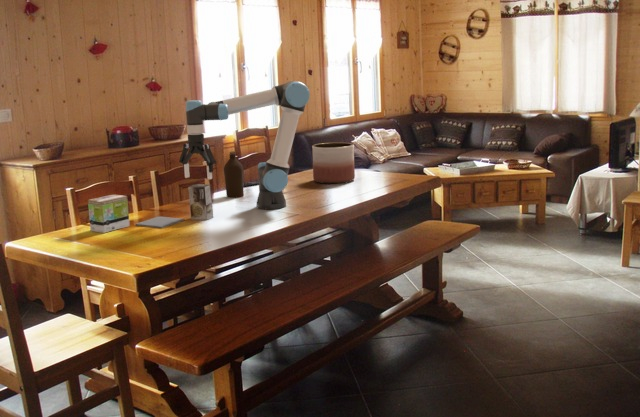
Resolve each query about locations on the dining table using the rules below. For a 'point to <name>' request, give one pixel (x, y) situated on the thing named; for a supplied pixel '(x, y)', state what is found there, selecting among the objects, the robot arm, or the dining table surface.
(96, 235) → the dining table surface
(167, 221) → the charcoal mat
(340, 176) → the planter
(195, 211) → the coffee box
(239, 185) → the olive oil
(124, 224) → the tea box
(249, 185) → the remote control
